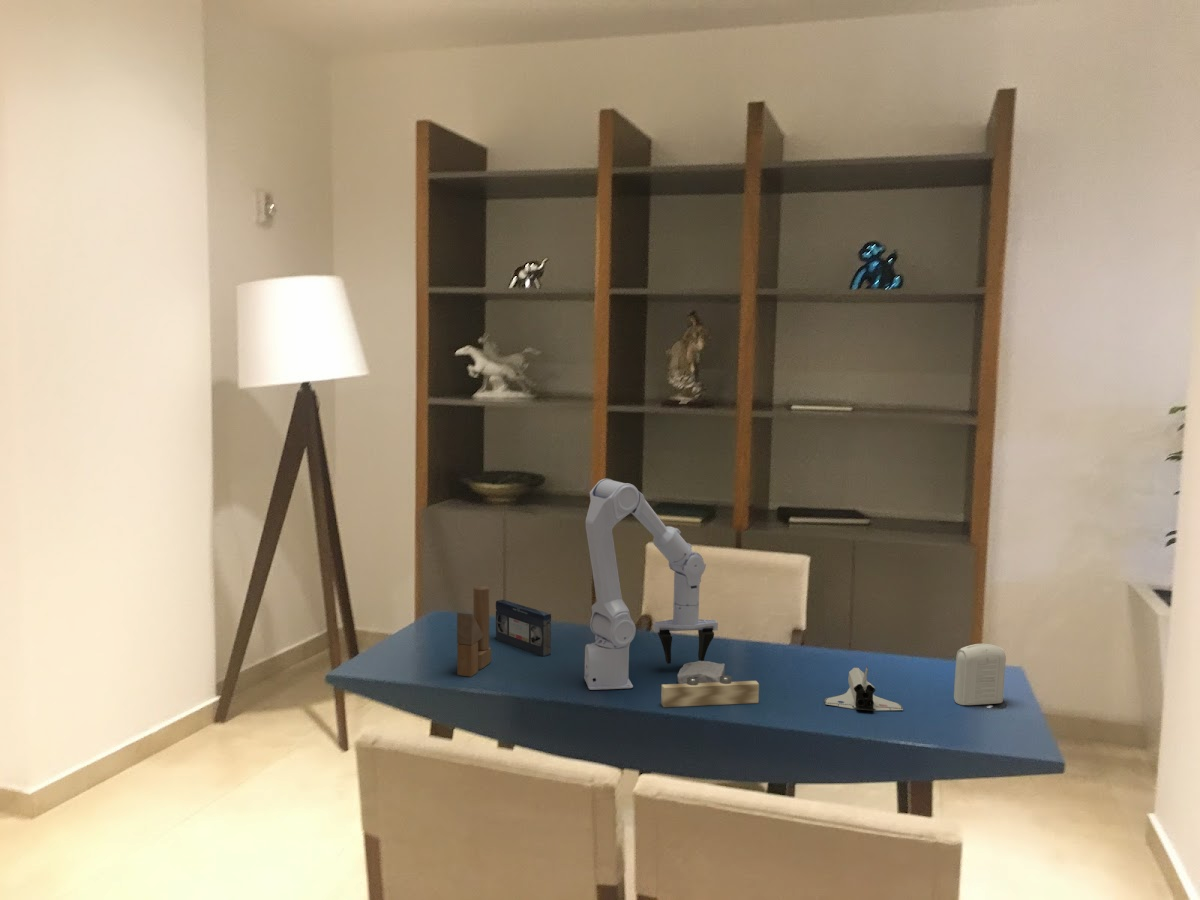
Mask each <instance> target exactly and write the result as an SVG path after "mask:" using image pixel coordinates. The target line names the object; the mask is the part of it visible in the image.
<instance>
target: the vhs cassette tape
mask: <svg viewBox="0 0 1200 900" xmlns="http://www.w3.org/2000/svg"><path fill="white" fill-rule="evenodd" d="M495 609H496V610H495V639H496V640H497V641H499V642H502V643H505V644H507V645H510V646H513V647H516V648H518V649H521V650H524V651H525V652H529V653H532V654H534V655H537V656H540V657H547V656H551V655H552V646H551V645H552V614H551V613H548V612H545V611H542V610H538V609H536V608H532V607H529V606H525V605H523V604H519V603H516V602H512V601H509V600H505V599H499V600H496V601H495Z"/></svg>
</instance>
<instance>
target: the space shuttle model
mask: <svg viewBox="0 0 1200 900" xmlns="http://www.w3.org/2000/svg"><path fill="white" fill-rule="evenodd" d="M868 671H869V669H868V666H866V667H865V671H862V670H861V669H860V667H852V668H851V670H850V671H848V676H847V677H848V679H847V682H848V685H849V688H848V689H847V691H846V692H845V693H842V694H838V695H834V696H830V697H825V699H824V701H823V702H824V705H826V706H832V707H839V708H844V709H851V710H859V711H860V710H861V711H871V712H872V711H873V712H877V711H878V712H881V711H883V712H884V711H904V707H903V706H902V705H901V704H900V703H898V702H894V701H892V700H889V699H885V698H883V697H880V696H877V695H875V694H874V693H875V692H876V688H875V686H874V685H873V684H872V683H870V682H869V681H868Z"/></svg>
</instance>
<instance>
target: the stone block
mask: <svg viewBox="0 0 1200 900" xmlns="http://www.w3.org/2000/svg"><path fill="white" fill-rule="evenodd" d="M725 665H726V664H725V663H717V662H712V661H710V660H709V661H706V660H704V661H699V660H698V661H694V662H693V661H692V662H687V663H684V664H683V665H682V667H680V669H679V671H678V673H677V684H687V677H697V678H698V679H699V683H713V682H720V676H722V675H726V674H725V673H726V671H725V667H726V666H725Z"/></svg>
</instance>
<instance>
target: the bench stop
mask: <svg viewBox="0 0 1200 900" xmlns="http://www.w3.org/2000/svg"><path fill="white" fill-rule="evenodd" d="M759 692H760V684H759V682H758V681H757V680H742V681H732V676H730V675H728V674H727V675H726V674H724V675H722V676H720V682H713V683H699V679H698V678H697V677H687V684H678V683H668V684H664V683H663V684H661V693H660V695H661V696H660V697H661V699H660V700H661V701H660V702H661V703H660V704H661V706H662V707H663V708H673V707H674V708H676V707H677V708H678V707H693V706H694V707H696V706H697V707H698V706H719V705H740V704H742V705H743V704H744V705H745V704H759V696H760V695H759V694H760V693H759Z"/></svg>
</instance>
